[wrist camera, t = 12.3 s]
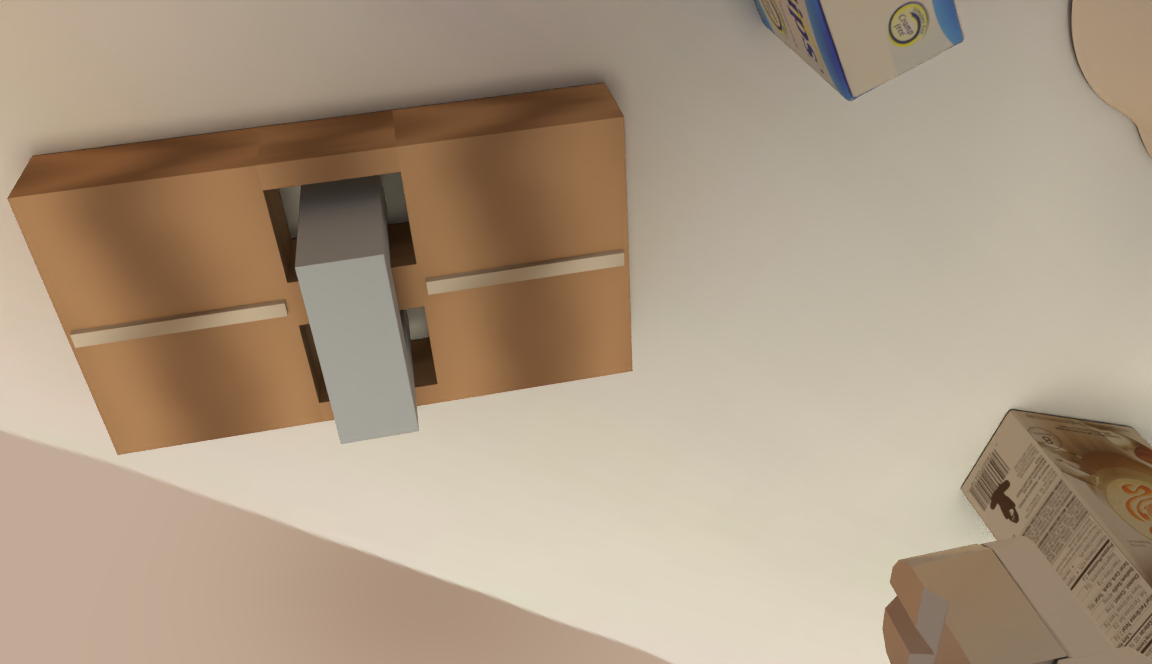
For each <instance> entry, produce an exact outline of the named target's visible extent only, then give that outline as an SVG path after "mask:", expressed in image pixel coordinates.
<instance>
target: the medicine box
mask: <svg viewBox="0 0 1152 664" xmlns="http://www.w3.org/2000/svg"><path fill="white" fill-rule="evenodd" d="M754 1H755V4H756V6H757V9H758V11H759V14H760V16H761V18H762V21H763V23H764V24H765V26H766V27H767V28H768V29H770V30H771V31H772V32H773V33H774V34H775V35H776V36H777V37H778V38H780V39H781V40H782V41H783V42H784V43H785V44H786V45H787V46H788V47H789V48H791V49H792V50H793V51H794V52H795V53H796V54H797V55H799V56H800V57H801V58H802V59H803V60H804V61H805V62H806V63H807V64H808V65H809V66H811V67H812V68H813V69H814V70H815V71H816V72H817V73H818V74H819V75H820V76H821V77H822V78H823V79H825V80H826V81H827V82H828V83H829V84H830V85H831V86H832V87H833V88H834V89H836V90H837V91H838V92H839V93H840V94H841V95H842V96H843V97H844V98H846V99H847V100H848V101H852V100H854V99H856V98H857V97H859V96H861V95H863V94H864V93H866V92H868V91H870V90H872V89H874V88H876V87H877V86H879V85H881V84H883V83H885V82H887V81H889V80H890V79H892V78H894V77H896V76H898V75H900V74H902V73H904V72H906V71H908V70H910V69H912V68H914V67H916V66H917V65H919V64H921V63H923V62H925V61H927V60H929V59H931V58H932V57H934V56H936V55H938V54H939V53H941V52H943V51H945V50H947V49H949V48H951V47H953V46H955V45H956V44H958V43H961V42H962V41H963V40H964V34H963V31H962V27H961V24H960V20H959V16H958V13H957V9H956V6H955V2H954V0H754Z"/></svg>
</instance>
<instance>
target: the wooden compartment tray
mask: <svg viewBox="0 0 1152 664" xmlns="http://www.w3.org/2000/svg"><path fill="white" fill-rule="evenodd" d="M396 172H401V177H402V183H403V189H404V195H405V200H406V206H407V212H408V217H409V222H408V223H401V224H394V225H388V238H389V252H390V265H391V271H392V276H393V281H394V287H395V292H396V297H397V302H398V307H399V310H404V309H410V308H417V307H423V306H424V309H425V315H426V320H427V326H428V332H429V337H430V338H427V339H421V340H414V341H411V351H412V362H413V373H414V383H415V394H416V405H417V406H421V405H427V404H433V403H439V402H445V401H451V400H458V399H464V398H470V397H476V396H482V395H488V394H494V393H500V392H507V391H513V390H519V389H525V388H531V387H537V386H543V385H550V384H556V383H562V382H568V381H574V380H580V379H586V378H592V377H599V376H605V375H611V374H617V373H623V372H629V371H632V343H631V313H630V282H629V252H628V221H627V191H626V160H625V130H624V116H623V114H622V112H621V111H620V109H619V107H618V105H617V104H616V102H615V100H614V98H613V97H612V95H611V93H610V91H609V90H608V88H607V86H606V85H605V83H600V84H592V85H584V86H577V87H569V88H561V89H553V90H545V91H538V92H530V93H522V94H514V95H506V96H498V97H491V98H483V99H475V100H467V101H459V102H452V103H444V104H436V105H428V106H420V107H413V108H405V109H397V110H389V111H381V112H373V113H366V114H358V115H350V116H342V117H334V118H327V119H319V120H311V121H303V122H295V123H288V124H280V125H272V126H264V127H256V128H248V129H241V130H233V131H225V132H217V133H209V134H202V135H194V136H186V137H178V138H170V139H163V140H155V141H147V142H139V143H131V144H123V145H116V146H108V147H100V148H92V149H84V150H77V151H69V152H61V153H53V154H45V155H38V156H32V158H31V159H30V161H29V163H28V164H27V166H26V168H25V169H24V171H23V173H22V174H21V176H20V178H19V180H18V181H17V183H16V185H15V186H14V188H13V190H12V191H11V193H10V195H9V196H8V198H7V199H8V201H9V203H10V206H11V208H12V210H13V213H14V215H15V217H16V220H17V222H18V224H19V227H20V229H21V231H22V234H23V236H24V238H25V241H26V243H27V245H28V248H29V250H30V252H31V254H32V257H33V259H34V261H35V264H36V266H37V268H38V271H39V273H40V275H41V278H42V280H43V282H44V285H45V287H46V289H47V292H48V294H49V296H50V299H51V301H52V303H53V306H54V308H55V310H56V313H57V315H58V317H59V320H60V322H61V324H62V327H63V329H64V331H65V333H66V336H67V338H68V340H69V343H70V345H71V347H72V350H73V352H74V354H75V357H76V359H77V361H78V364H79V366H80V368H81V371H82V373H83V375H84V378H85V380H86V382H87V385H88V387H89V389H90V392H91V394H92V396H93V399H94V401H95V403H96V406H97V408H98V410H99V412H100V415H101V417H102V419H103V422H104V424H105V426H106V429H107V431H108V433H109V436H110V438H111V440H112V443H113V445H114V447H115V450H116V452H117V454H118V455H120V454H126V453H132V452H139V451H145V450H151V449H157V448H163V447H169V446H175V445H182V444H188V443H194V442H200V441H206V440H212V439H218V438H224V437H231V436H237V435H243V434H249V433H255V432H261V431H267V430H274V429H280V428H286V427H292V426H298V425H304V424H310V423H316V422H323V421H329V420H335V419H334V415H333V411H332V407H331V403H330V400H329V396H328V392H327V388H326V384H325V381H324V377H323V373H322V369H321V365H320V361H319V358H318V354H317V350H316V346H315V342H314V339H313V335H312V331H311V327H310V323H309V319H308V316H307V312H306V308H305V304H304V300H303V297H302V293H301V289H300V285H299V281H298V277H297V274H296V270H295V259H296V246H297V238H295V239H291V237H290V233H289V229H288V225H287V221H286V217H285V213H284V209H283V205H282V201H281V197H280V193H279V190H278V188H285V187H292V186H300V185H307V184H314V183H322V182H329V181H336V180H344V179H351V178H359V177H366V176H373V175H381V174H388V173H396Z"/></svg>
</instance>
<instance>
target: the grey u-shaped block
mask: <svg viewBox="0 0 1152 664" xmlns="http://www.w3.org/2000/svg"><path fill="white" fill-rule="evenodd" d="M295 270H296V274H297V277H298V281H299V285H300V289H301V293H302V297H303V300H304V304H305V308H306V312H307V316H308V319H309V323H310V327H311V331H312V335H313V339H314V342H315V346H316V350H317V354H318V358H319V361H320V365H321V369H322V373H323V377H324V381H325V384H326V388H327V392H328V396H329V400H330V403H331V407H332V411H333V415H334V419H335V423H336V426H337V430H338V434H339V438H340V442H341V444H345V443H351V442H357V441H362V440H368V439H374V438H380V437H386V436H392V435H398V434H404V433H410V432H416V431H419V426H418V415H417V405H416V394H415V383H414V373H413V362H412V351H411V341H410V330H409V322H408V317H407V311H406V309H404V310H399V307H398V302H397V297H396V292H395V287H394V281H393V276H392V271H391V265H390V252H389V238H388V224H387V211H386V202H385V197H384V192H383V187H382V181H381V176H380V175H373V176H366V177H359V178H351V179H344V180H336V181H329V182H322V183H314V184H307V185H301V194H300V207H299V220H298V233H297V246H296V259H295Z"/></svg>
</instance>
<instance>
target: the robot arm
mask: <svg viewBox="0 0 1152 664" xmlns="http://www.w3.org/2000/svg"><path fill="white" fill-rule="evenodd" d="M1072 36H1073V43H1074V49H1075V53H1076V56H1077V60H1078V63H1079V65H1080V68H1081V70H1082V72H1083V74H1084V76H1085V78H1086V80H1087V81H1088V83H1089V84H1090V86H1091V87H1092V88H1093V90H1094V91H1095V92H1096V93H1097V94H1098V95H1099V96H1100V97H1101V98H1102V99H1103V100H1104V101H1105V102H1106V103H1108V104H1109V105H1110V106H1112V107H1113V108H1115V109H1117V110H1118V111H1120V112H1121V113H1123V114H1124V115H1126V116H1127V117H1128V118H1130V119H1131V120H1132V121H1133V122H1134V123H1135V124H1136V125H1137V127H1138V130H1139V133H1140V136H1141V138H1142V141H1143V143H1144V146H1145V148H1146V150H1147V152H1148V153H1149V155H1150V156H1151V158H1152V0H1073V3H1072ZM890 583H891V585H892V587H893V589H894V590H895V592H896V594H897V596H896V597H895V599H894V600H893V601H892V602H891V603H890V604H889V605H888V606H887V607H886V608H885V613H884V621H883V634H884V640H885V647H886V652H887V655H888V658H889V660H890V663H891V664H1152V659H1151V658H1149V657H1147V656H1145V655H1143V654H1142V653H1140V652H1138V651H1136V650H1134V649H1133V648H1131V647H1129V646H1126V647H1120V648H1115V647H1114V645H1113V644H1112V643H1111V641H1110V640H1109V639H1108V638H1107V636H1106V635H1105V634H1104V632H1103V631H1102V630H1101V628H1100V627H1099V626H1098V625H1097V623H1096V622H1095V621H1094V619H1093V618H1092V617H1091V616H1090V614H1089V613H1088V612H1087V610H1086V609H1085V608H1084V607H1083V605H1082V604H1081V603H1080V601H1079V600H1078V599H1077V597H1076V596H1075V595H1074V594H1073V592H1072V591H1071V590H1070V588H1069V587H1068V586H1067V585H1066V583H1065V582H1064V581H1063V579H1062V578H1061V577H1060V575H1059V574H1058V573H1057V572H1056V570H1055V569H1054V568H1053V566H1052V565H1051V564H1050V563H1049V561H1048V560H1047V559H1046V557H1045V556H1044V555H1043V553H1042V552H1041V551H1040V550H1039V548H1038V547H1037V546H1036V544H1035V543H1034V542H1033V541H1031V540H1030V539H1028V538H1026V537H1025V536H1020V537H1013V538H1009V539H1004V540H999V541H994V542H989V543H984V544H980V545H978V544H973V545H968V546H963V547H958V548H953V549H949V550H944V551H939V552H934V553H929V554H925V555H920V556H915V557H910V558H905V559H901V560H899V561H898V562H897V563H896V564H895V565H894V566H893V569H892V574H891V579H890Z"/></svg>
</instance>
